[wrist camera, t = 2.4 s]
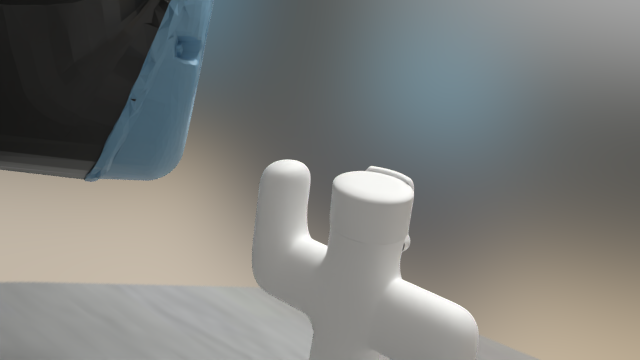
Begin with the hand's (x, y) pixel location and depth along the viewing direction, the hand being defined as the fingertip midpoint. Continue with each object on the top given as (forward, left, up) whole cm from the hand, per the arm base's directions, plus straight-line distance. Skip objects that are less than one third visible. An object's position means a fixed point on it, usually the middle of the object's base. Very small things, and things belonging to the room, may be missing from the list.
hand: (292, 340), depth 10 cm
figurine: (-5, +9, -15) cm, 18 cm away
